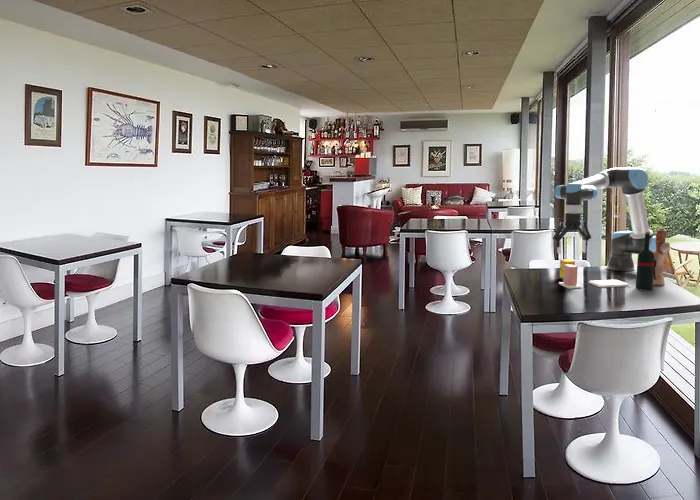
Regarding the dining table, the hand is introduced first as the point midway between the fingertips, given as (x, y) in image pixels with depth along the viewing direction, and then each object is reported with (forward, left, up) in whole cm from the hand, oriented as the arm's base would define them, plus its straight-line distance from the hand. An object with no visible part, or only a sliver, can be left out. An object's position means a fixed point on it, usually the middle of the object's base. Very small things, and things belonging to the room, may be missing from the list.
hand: (571, 252), depth 305 cm
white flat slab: (-22, 0, -18) cm, 28 cm away
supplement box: (-7, -17, -18) cm, 26 cm away
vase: (-47, +5, -18) cm, 51 cm away
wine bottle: (-35, +13, -18) cm, 42 cm away
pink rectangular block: (0, 0, -18) cm, 18 cm away
